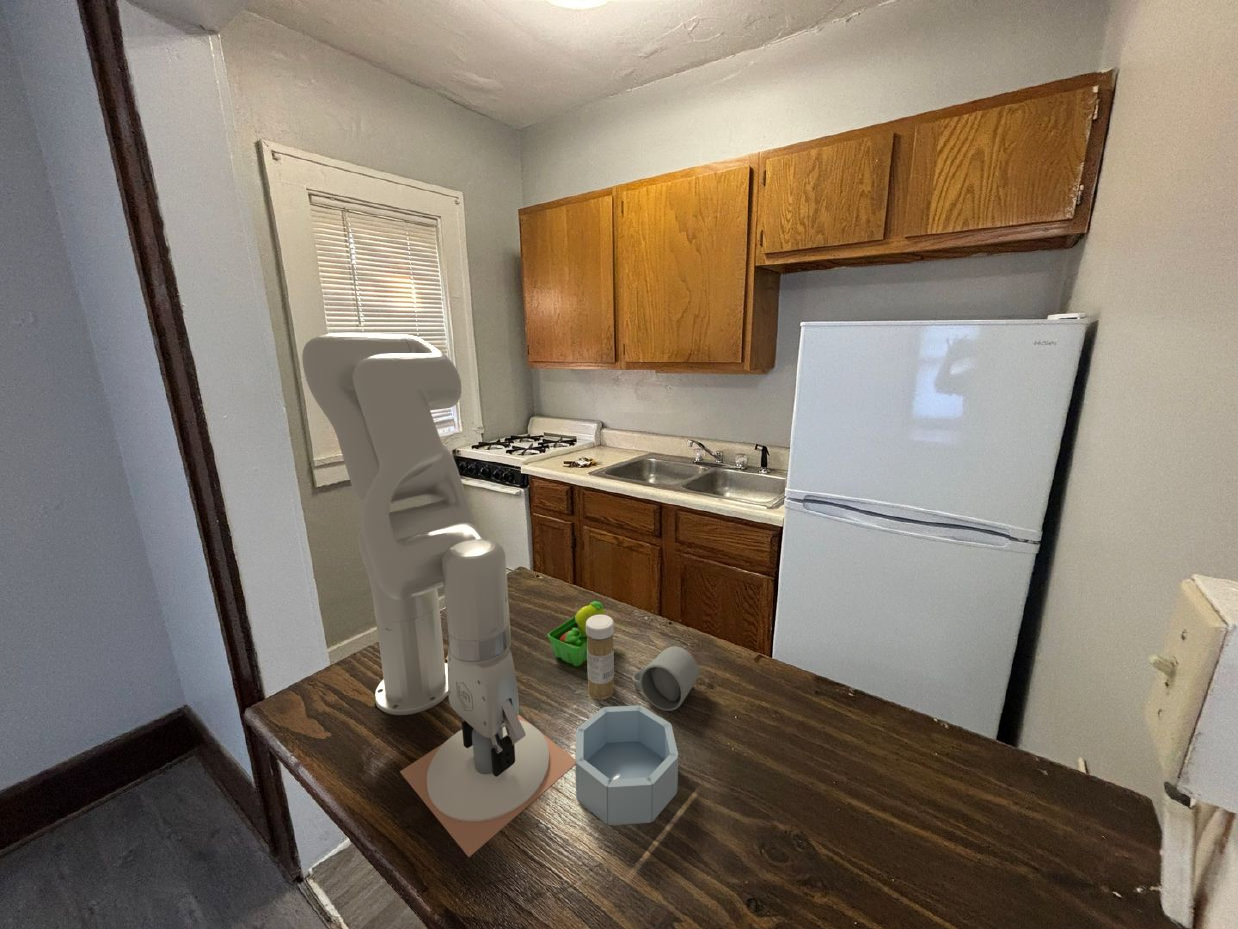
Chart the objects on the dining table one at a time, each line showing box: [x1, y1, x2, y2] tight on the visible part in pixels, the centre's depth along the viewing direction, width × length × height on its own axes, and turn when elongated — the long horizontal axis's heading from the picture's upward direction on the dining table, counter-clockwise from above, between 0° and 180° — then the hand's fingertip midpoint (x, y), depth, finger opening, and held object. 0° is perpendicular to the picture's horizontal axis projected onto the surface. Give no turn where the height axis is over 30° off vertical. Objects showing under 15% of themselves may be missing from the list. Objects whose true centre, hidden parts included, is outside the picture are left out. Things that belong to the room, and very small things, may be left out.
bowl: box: [574, 704, 679, 826], centre depth 63 cm, size 13×13×6 cm
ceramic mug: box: [631, 645, 699, 712], centre depth 79 cm, size 11×8×8 cm
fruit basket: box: [547, 600, 605, 667], centre depth 89 cm, size 11×9×11 cm
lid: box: [427, 718, 549, 823], centre depth 64 cm, size 16×16×6 cm
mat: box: [399, 713, 575, 858], centre depth 65 cm, size 17×17×1 cm
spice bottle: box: [586, 614, 615, 701], centre depth 78 cm, size 5×5×14 cm
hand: (489, 753), depth 65 cm, fingers open, 6 cm apart
